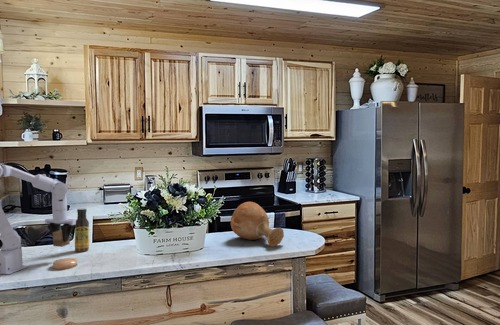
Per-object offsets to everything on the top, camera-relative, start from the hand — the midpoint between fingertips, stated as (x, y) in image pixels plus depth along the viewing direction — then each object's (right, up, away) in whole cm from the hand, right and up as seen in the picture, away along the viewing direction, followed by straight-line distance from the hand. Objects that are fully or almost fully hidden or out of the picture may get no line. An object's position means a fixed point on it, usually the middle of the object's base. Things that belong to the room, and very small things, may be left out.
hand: (61, 240), depth 171 cm
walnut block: (0, -2, 0) cm, 2 cm away
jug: (+85, -6, +27) cm, 89 cm away
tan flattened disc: (+5, -9, -7) cm, 13 cm away
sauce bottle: (+3, -8, +16) cm, 18 cm away
